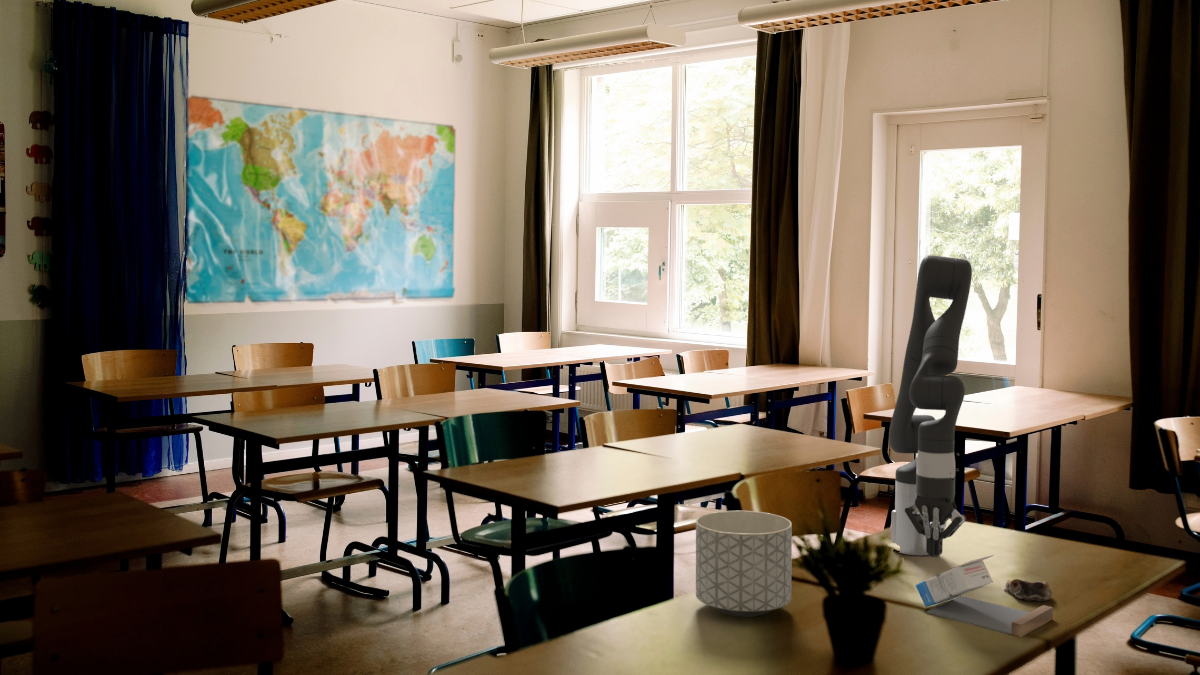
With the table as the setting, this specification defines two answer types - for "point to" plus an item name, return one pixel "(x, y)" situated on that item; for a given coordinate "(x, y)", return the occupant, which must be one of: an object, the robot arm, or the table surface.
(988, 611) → the mat
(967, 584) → the ink box
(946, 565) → the table surface
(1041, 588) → the rock
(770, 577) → the planter
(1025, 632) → the stop rail
